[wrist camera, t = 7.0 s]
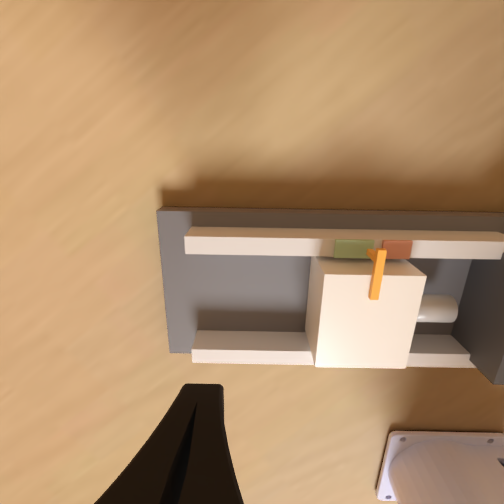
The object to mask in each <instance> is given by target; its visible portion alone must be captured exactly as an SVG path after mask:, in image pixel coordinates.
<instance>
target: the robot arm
mask: <svg viewBox="0 0 504 504" xmlns="http://www.w3.org/2000/svg"><path fill="white" fill-rule="evenodd" d="M376 496H377V498H378V499H379V500H382V501H397V503H398V504H504V433H479V432H428V431H393V432H391V433H390V434H389V437H388V442H387V446H386V450H385V455H384V459H383V463H382V468H381V472H380V476H379V481H378V485H377V490H376ZM94 504H244V503H243V499H242V496H241V493H240V490H239V486H238V483H237V479H236V476H235V472H234V468H233V464H232V460H231V456H230V452H229V447H228V442H227V437H226V431H225V425H224V394H223V386H222V385H220V384H185V385H184V386H183V387H182V389H181V390H180V392H179V394H178V396H177V397H176V399H175V400H174V402H173V404H172V405H171V407H170V408H169V410H168V411H167V413H166V414H165V416H164V417H163V419H162V420H161V422H160V423H159V425H158V426H157V427H156V429H155V430H154V432H153V433H152V435H151V436H150V437H149V439H148V440H147V441H146V443H145V444H144V445H143V446H142V448H141V449H140V450H139V452H138V453H137V454H136V455H135V457H134V458H133V459H132V461H131V462H130V463H129V464H128V466H127V467H126V468H125V469H124V470H123V472H122V473H121V474H120V475H119V476H118V478H117V479H116V480H115V481H114V482H113V483H112V484H111V486H110V487H109V488H108V489H107V490H106V491H105V492H104V493H103V495H102V496H101V497H100V498H99V499H98V500H97V501H96V502H95V503H94Z"/></svg>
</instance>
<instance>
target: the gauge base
mask: <svg viewBox="0 0 504 504" xmlns="http://www.w3.org/2000/svg"><path fill="white" fill-rule="evenodd" d="M156 212H157V222H158V233H159V244H160V254H161V265H162V276H163V286H164V297H165V308H166V318H167V329H168V339H169V350H170V353H192V363H235V364H289V365H314V361H313V358H312V354H311V350H310V346H309V343H308V339H307V335H306V331H305V323H306V311H307V300H308V288H309V277H310V265H311V256H326V257H334V258H366V259H370V258H369V257H368V256H367V255H366V252H367V249H373V250H375V251H376V248H385V249H386V250H387V254H386V259H406V260H407V261H408V262H409V263H411V264H412V265H413V266H415V267H416V268H417V269H418V270H420V271H421V272H422V273H423V274H425V275H426V276H427V278H426V282H425V286H424V291H423V294H449V295H451V296H453V297H454V299H455V300H456V302H457V306H458V315H457V318H456V320H455V321H454V322H451V323H446V322H416V325H415V330H414V334H413V338H412V343H411V347H410V351H409V356H408V360H407V364H406V367H449V368H477V369H478V370H479V371H480V372H481V373H482V374H483V375H484V376H485V377H486V378H487V379H488V380H489V381H490V382H491V383H492V384H498V385H504V212H448V211H387V210H326V209H266V208H205V207H161V208H160V209H158V210H157V211H156ZM330 368H344V367H330Z"/></svg>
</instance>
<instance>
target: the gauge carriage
mask: <svg viewBox="0 0 504 504" xmlns="http://www.w3.org/2000/svg"><path fill="white" fill-rule="evenodd" d="M386 254H387V250H386V249H385V248H376V251H375V250H373V249H367V252H366V255H367V256H368V257H369V258H370V259H366V258H334V257H326V256H311V265H310V277H309V288H308V300H307V311H306V323H305V331H306V335H307V339H308V343H309V346H310V350H311V354H312V358H313V361H314V365H315V367H344V368H398V369H406V364H407V360H408V356H409V351H410V347H411V343H412V338H413V334H414V330H415V325H416V322H446V323H451V322H454V321H455V320H456V318H457V315H458V306H457V302H456V300H455V299H454V297H453V296H451V295H449V294H423V291H424V286H425V282H426V278H427V276H426V275H425V274H423V273H422V272H421V271H420V270H418V269H417V268H416V267H415V266H413V265H412V264H411V263H409V262H408V261H407V260H406V259H386Z"/></svg>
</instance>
